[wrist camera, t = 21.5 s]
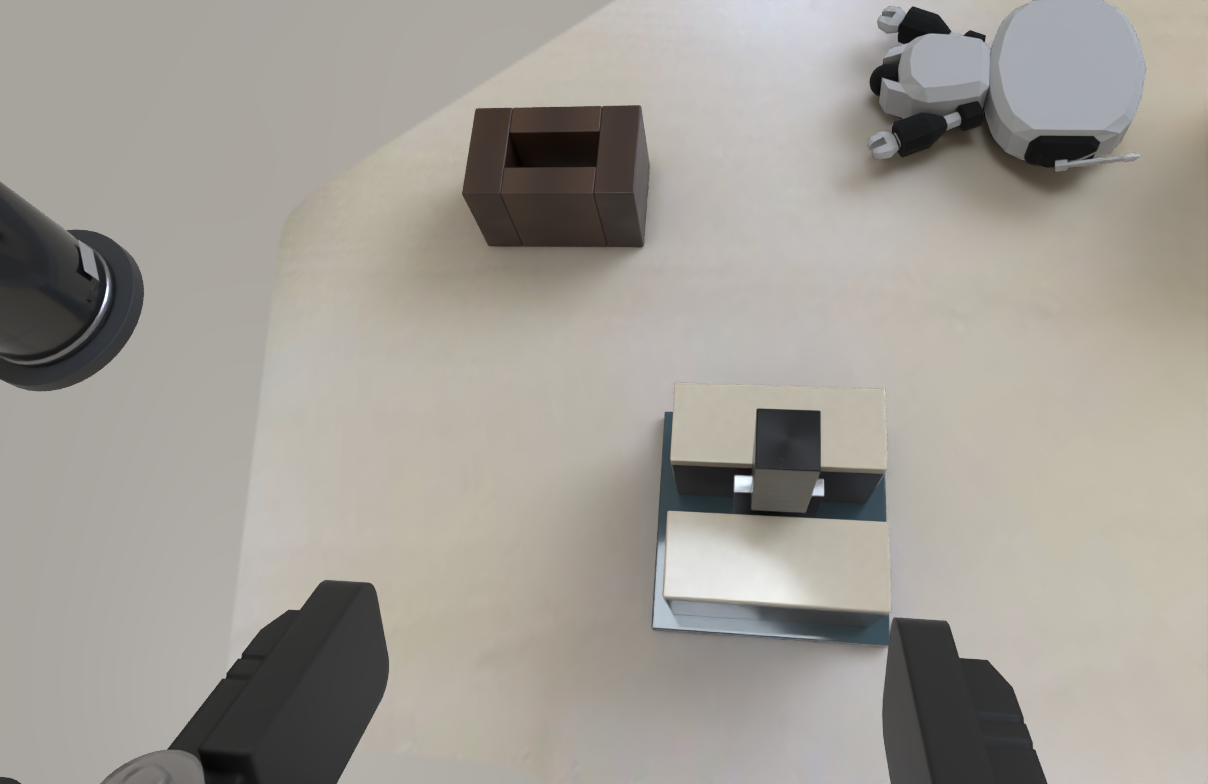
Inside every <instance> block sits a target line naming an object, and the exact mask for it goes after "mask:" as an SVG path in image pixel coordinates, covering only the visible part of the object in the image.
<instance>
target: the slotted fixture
mask: <svg viewBox="0 0 1208 784" xmlns="http://www.w3.org/2000/svg"><path fill="white" fill-rule="evenodd" d="M758 408H763V409H792V410H820V411H821V471H820V474H819V477H818V479H824V497H823V500H822V502H821V504H820V507H819V509H818V512H817V514H816V516H815V518H802V517H783V516H763V515H743V514H733V490H734V475H746V476H752V457H753V445H754V433H755V422H756V410H757V409H758ZM887 469H888V460H887V425H886V390H885V389H882V388H847V387H812V386H778V385H743V384H708V383H675V385H674V402H673V412H665V417H664V433H663V449H662V466H661V482H660V498H659V515H658V531H657V547H656V564H655V580H654V596H653V613H652V629H653V630H660V631H674V632H688V633H702V634H715V635H729V636H743V637H757V638H771V639H785V640H799V641H813V642H827V643H840V644H854V645H868V646H882V647H887V646H889V638H890V631H889V613H890V612H891V611H892V603H891V568H890V533H889V523H888V522H886V487H885V473H886V471H887Z"/></svg>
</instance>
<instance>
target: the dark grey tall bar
mask: <svg viewBox="0 0 1208 784" xmlns="http://www.w3.org/2000/svg"><path fill="white" fill-rule="evenodd" d="M820 471H821V411H820V410H792V409H763V408H758V409H757V410H756V422H755V433H754V445H753V457H752V476H746V475H734V490H733V514H743V515H763V516H783V517H802V518H815V516H816V514H817V512H818V509H819V507H820V504H821V502H822V500H823V497H824V479H818V477H819V474H820Z"/></svg>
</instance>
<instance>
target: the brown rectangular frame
mask: <svg viewBox="0 0 1208 784" xmlns="http://www.w3.org/2000/svg"><path fill="white" fill-rule="evenodd" d="M649 168H650V164H649V157H648V150H647V144H646V137H645V130H644V123H643V116H642V109H641V106H640V105H634V106H603V107H601V106H583V107H532V108H513V109H512V108H479V109H476V110H475V116H474V122H473V128H472V135H471V141H470V147H469V154H468V160H467V166H466V173H465V179H464V185H463V192H462V195H463V197H464V199H465V201H466V203H467V205H468V206H469V208H470V210H471V212H472V214H473V216H474V218H475V220H476V222H477V224H478V226H479V228H480V230H481V232H482V234H483V236H484V238H485V240H486V242H487V244H488V245H489V246H636V247H642V246H643V245H644V235H645V221H646V208H647V195H648V181H649Z"/></svg>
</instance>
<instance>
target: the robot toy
mask: <svg viewBox="0 0 1208 784" xmlns="http://www.w3.org/2000/svg"><path fill="white" fill-rule="evenodd" d="M877 24H878V28H879V29H881V30H882V31H884V32H886V33H896V32H899V33H898V42H900V43H902V44H903V45H900V46H897V47H893V48H891V49H890V50H889V51H888V53H887V54H886V56H885V57H884V58H883V65H881V66H879V67H877V68H876V69H875V70H874V71H873V73H872V75H871V77H870V87H871V90H872V91H873V93H874V94H876V95H878V96H880V99H879V103H880V105H881V107H882V109H883V110H884V112H885V113H888V114H891V115H894V116H897V117H901V118H903V119H902V120H899V121H896V122H894V124H893V126H892V132H886V131H880V132H878V133H876V134H875V135H873V136H871V137H870V138H869V141H868V147H869V149H870V150H871V149H872V155H873V157H874V158H876V159H878V160H881V159H888V158H890V157H891V156H892V155H893V154H895V153H896V152H898V153H899V155H900V156H901V157H905V156H908V155H911V154H913V153H916V152H919V151H922V150H925V149H928V148H930V147H931V146H932V145H933V144H934V143H935V142H936V141H937V140H938V139H939V138H940V137H941V136H942V134H943V133H944V132H945V131H946V130H949V129H951V128H954V127H957V126H958V127H959V128H960V129H961V130H963V131H966V130H968V129H971V128H974V127H977V126H980V125H981V123H982V121H983V114H984V112H983V110H982V109H983V105H984V110H985V116H986V120H987V123H988V126H989V129H990V131H991V134H992V136H993V138H994V139H995V141H996V142H997V143H998V144H999V145H1000V146H1001V147H1002V149H1003V150H1004V151H1005V152H1007V153H1008V154H1010V155H1012V156H1014V157H1016V158H1018V159H1020V160H1025V161H1026V163H1029V164H1032V165H1038V166H1043V167H1055V172H1057V171H1066V170H1068V168H1073V167H1078V166H1086V165H1094V164H1103V163H1111V162H1120V161H1123V162H1130V161H1135V160H1136V159H1138V158H1139V157H1141V155H1139V154H1136V153H1127V154H1124V155H1121V156H1112V157H1104V158H1098V157H1101V156H1104V155H1106V154H1109V153H1110V152H1111V151H1112V150H1113V149H1114V148H1115V147H1116V146H1117V145H1118V144H1119V143H1120V142H1121V140H1122V138H1123V136H1124V134H1125V133H1126V131H1127V129H1128V127H1129V125H1130V123H1131V121H1132V120H1133V118H1134V116H1135V114H1136V112H1137V109H1138V106H1139V103H1140V100H1141V97H1142V91H1143V85H1144V79H1145V73H1146V65H1145V61H1144V58H1143V54H1142V50H1141V46H1140V42H1139V39H1138V37H1137V34H1136V32H1135V30H1134V28H1133V25H1132V24H1131V22H1130V21H1129V19H1128V18H1127V17H1126V16H1125V15H1124V14H1123V13H1122V12H1121V11H1120V10H1118V9H1117V8H1116V7H1115V6H1113V5H1111V4H1109V3H1107V2H1106V1H1104V0H1033V1H1031V2H1029V3H1027V4H1025V5H1023V6H1021V7H1019V8H1016V9H1014V10H1013V11H1012V12H1011V13H1010V14H1009V15H1008V16H1007V17H1006V18H1005V19H1004V20H1003V22H1002V24H1001V25H1000V27H999V29H998V31H997V34H996V36H995V39H994V41H993V45H992V48H991V52H990V48H989V47H988V46H987V45H986V44H985V43H984V42H985V37H986V35H983V34H980V33H977V32H974V31H971V30H970V31H968V32H967V33H965V35H964V36H962V35H959V34H956V33H953V32H951V30H950V29H949V28H948V26H947V25H946V24H945V22H944V21H943V20H942V19H941V17H940V16H939V15H938V14H934V13H931V12H928V11H925V10H922V9H919V8H916V7H912V8H911V9H910V10H909V11H908V12H907V14H906V13H905V12H904V11H903V10H902V9H901V8H900V7H895V6H889V7H887V8H885V9H884V10H883V12H882V15H880V16H879V18H878V20H877ZM1095 158H1096V159H1095Z"/></svg>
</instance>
